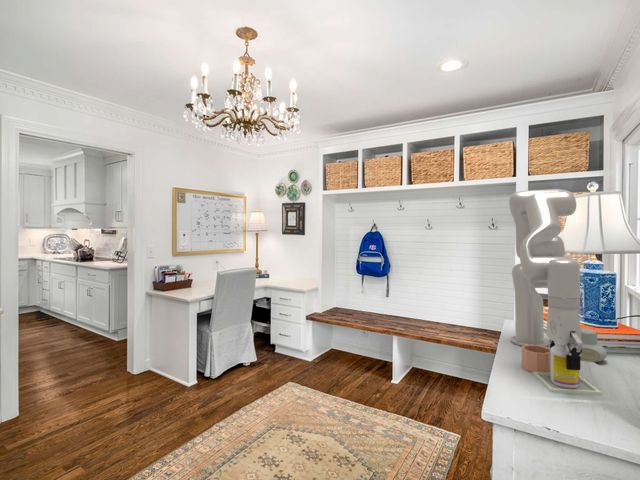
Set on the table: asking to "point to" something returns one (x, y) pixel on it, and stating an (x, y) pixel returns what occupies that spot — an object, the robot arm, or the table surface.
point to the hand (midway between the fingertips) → (564, 362)
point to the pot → (536, 358)
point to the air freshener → (591, 347)
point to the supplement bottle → (562, 368)
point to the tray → (589, 392)
